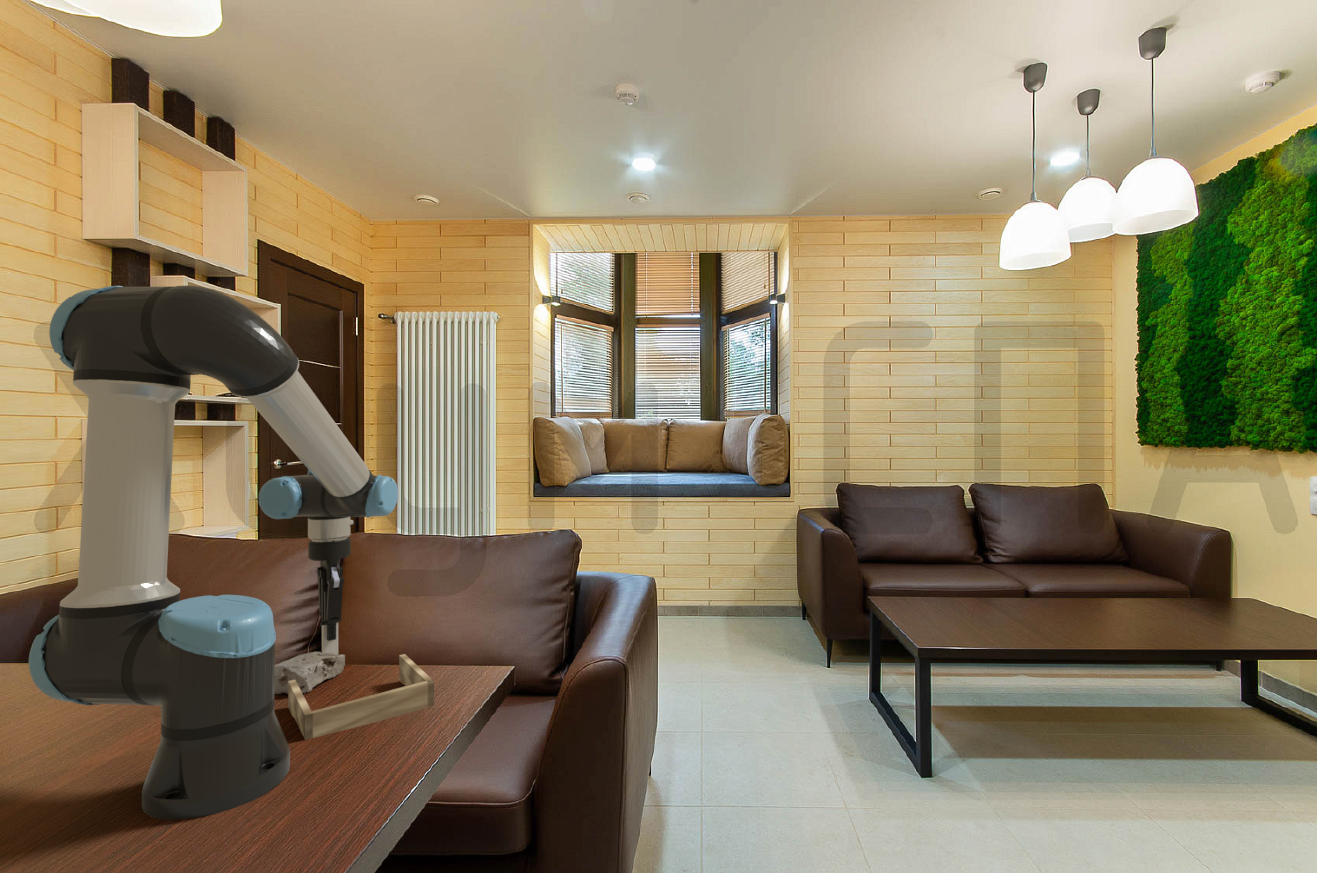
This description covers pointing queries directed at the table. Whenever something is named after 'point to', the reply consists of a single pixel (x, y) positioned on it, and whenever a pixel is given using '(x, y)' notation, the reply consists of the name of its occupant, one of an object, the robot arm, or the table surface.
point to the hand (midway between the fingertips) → (330, 654)
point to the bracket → (364, 704)
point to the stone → (307, 670)
